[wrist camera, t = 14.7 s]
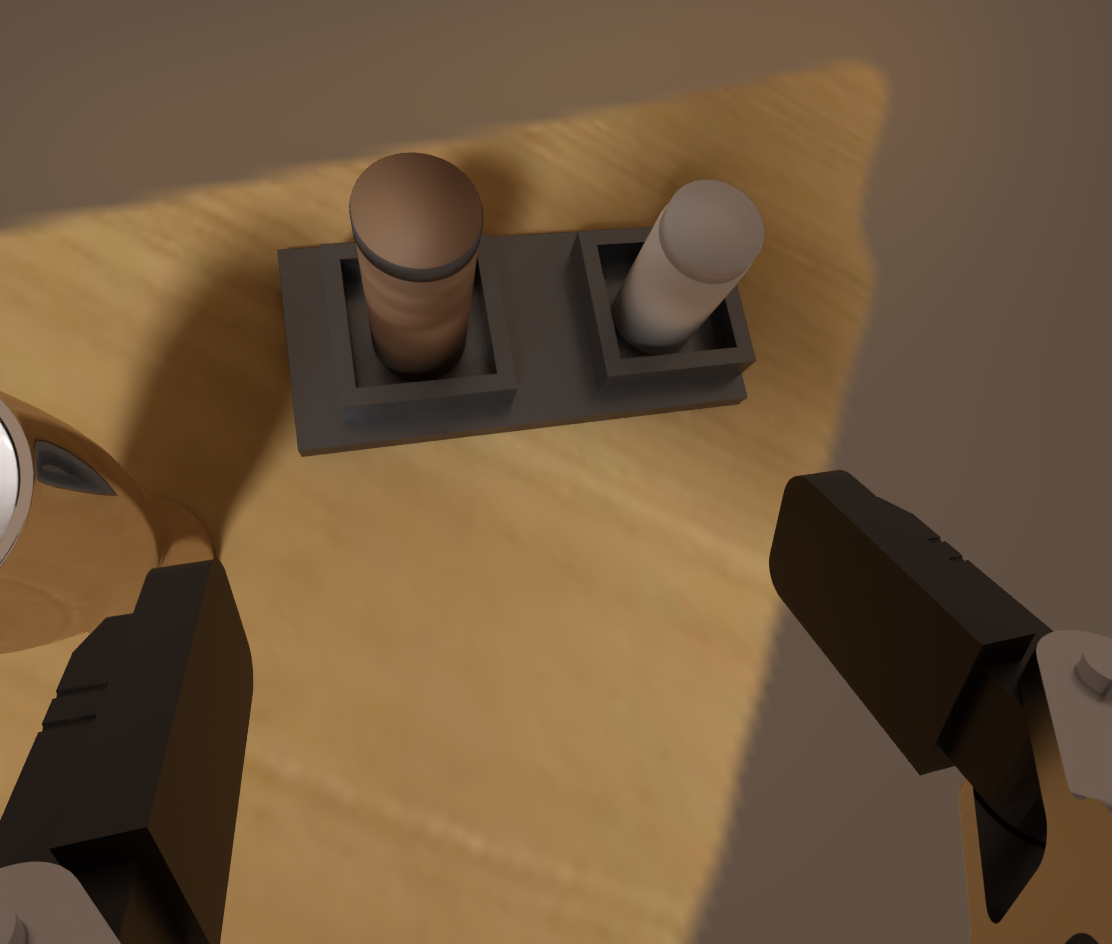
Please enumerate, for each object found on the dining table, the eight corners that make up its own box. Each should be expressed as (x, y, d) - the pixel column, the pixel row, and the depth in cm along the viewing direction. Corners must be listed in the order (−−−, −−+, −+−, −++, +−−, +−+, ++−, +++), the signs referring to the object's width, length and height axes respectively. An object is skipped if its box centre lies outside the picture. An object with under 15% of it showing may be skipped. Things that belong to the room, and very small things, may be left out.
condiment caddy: (301, 456, 32) (289, 438, 29) (281, 260, 34) (268, 225, 31) (738, 404, 36) (765, 383, 33) (697, 234, 38) (719, 202, 36)
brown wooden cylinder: (374, 385, 32) (354, 269, 22) (366, 297, 33) (343, 150, 23) (471, 378, 33) (491, 264, 23) (461, 293, 34) (475, 151, 24)
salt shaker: (622, 358, 35) (677, 277, 27) (605, 279, 36) (654, 179, 28) (703, 350, 36) (778, 270, 28) (684, 273, 36) (752, 175, 29)
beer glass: (55, 671, 28) (-340, 700, 14) (39, 505, 29) (-336, 372, 15) (238, 629, 29) (57, 616, 15) (215, 474, 31) (29, 326, 16)
